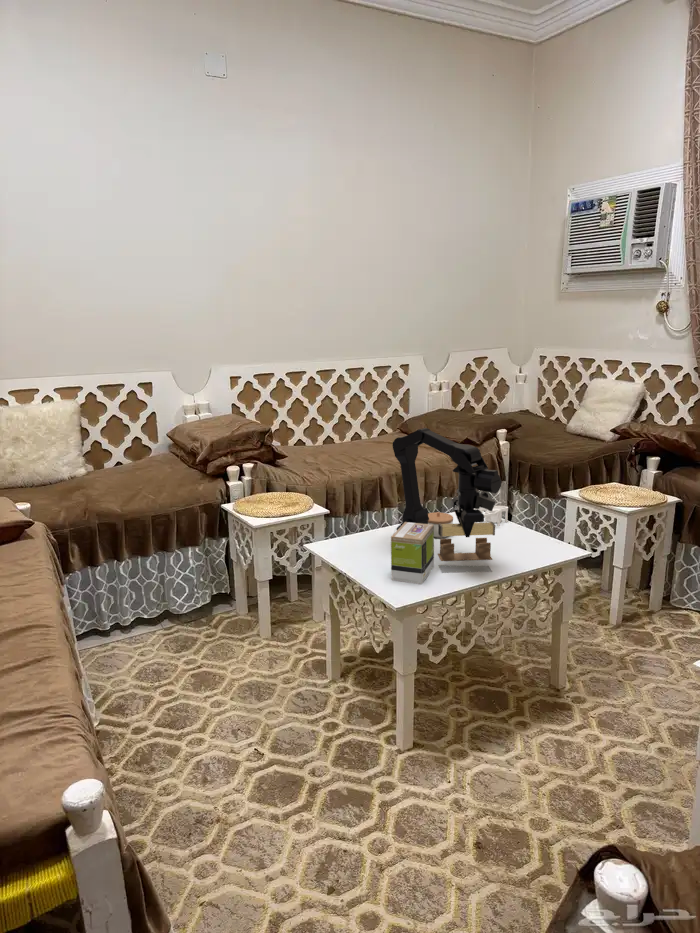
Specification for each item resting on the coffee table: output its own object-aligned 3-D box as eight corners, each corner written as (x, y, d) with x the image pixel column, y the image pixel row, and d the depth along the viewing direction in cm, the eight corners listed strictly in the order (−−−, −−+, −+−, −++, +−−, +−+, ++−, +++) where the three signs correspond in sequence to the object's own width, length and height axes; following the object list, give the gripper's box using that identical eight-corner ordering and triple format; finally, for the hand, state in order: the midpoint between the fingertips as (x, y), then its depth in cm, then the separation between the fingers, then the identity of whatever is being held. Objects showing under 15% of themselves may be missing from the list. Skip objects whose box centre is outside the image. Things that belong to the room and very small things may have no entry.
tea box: (404, 563, 212) (404, 520, 209) (434, 567, 208) (435, 523, 205) (390, 581, 198) (390, 535, 195) (422, 585, 195) (423, 538, 191)
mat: (441, 573, 203) (441, 572, 203) (437, 565, 210) (437, 564, 210) (492, 572, 204) (492, 571, 204) (486, 564, 211) (486, 562, 211)
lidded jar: (424, 541, 232) (424, 516, 230) (422, 532, 242) (422, 508, 240) (454, 542, 232) (455, 516, 229) (450, 532, 242) (451, 508, 240)
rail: (440, 537, 203) (440, 526, 202) (438, 533, 206) (438, 523, 205) (494, 535, 204) (495, 525, 203) (491, 531, 207) (492, 521, 206)
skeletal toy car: (499, 521, 255) (500, 503, 253) (515, 529, 245) (516, 511, 243) (454, 526, 249) (454, 508, 247) (468, 535, 238) (469, 516, 237)
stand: (440, 562, 213) (441, 544, 211) (437, 555, 218) (438, 538, 217) (492, 561, 213) (493, 543, 212) (487, 554, 219) (488, 537, 218)
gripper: (501, 494, 193) (499, 544, 196) (485, 479, 211) (483, 525, 214) (464, 495, 192) (463, 545, 196) (451, 480, 210) (450, 526, 214)
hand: (466, 535), depth 205 cm, fingers closed on rail, 3 cm apart
